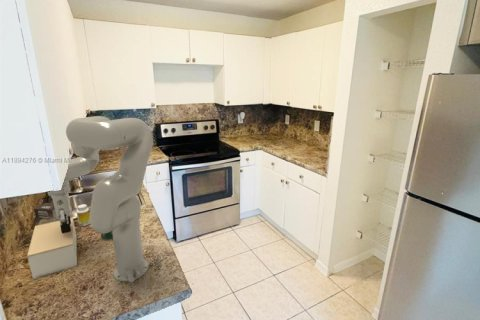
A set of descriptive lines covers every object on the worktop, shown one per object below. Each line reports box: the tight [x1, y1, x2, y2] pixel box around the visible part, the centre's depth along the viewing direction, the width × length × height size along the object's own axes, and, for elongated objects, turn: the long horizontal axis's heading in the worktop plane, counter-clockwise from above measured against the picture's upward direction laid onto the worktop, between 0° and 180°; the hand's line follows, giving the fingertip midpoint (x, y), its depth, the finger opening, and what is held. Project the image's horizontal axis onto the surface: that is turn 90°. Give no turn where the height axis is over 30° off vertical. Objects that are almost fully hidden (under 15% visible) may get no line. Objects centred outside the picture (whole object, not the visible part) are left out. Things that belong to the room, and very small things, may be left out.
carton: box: [27, 220, 78, 280], centre depth 108 cm, size 24×14×10 cm, turn 32°
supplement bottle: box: [76, 203, 91, 227], centre depth 133 cm, size 6×6×10 cm
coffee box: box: [33, 202, 60, 226], centre depth 121 cm, size 9×6×16 cm
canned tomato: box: [100, 230, 113, 241], centre depth 122 cm, size 8×8×11 cm
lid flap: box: [27, 217, 74, 258], centre depth 106 cm, size 24×14×6 cm, turn 32°
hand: (66, 228), depth 109 cm, fingers open, 6 cm apart
